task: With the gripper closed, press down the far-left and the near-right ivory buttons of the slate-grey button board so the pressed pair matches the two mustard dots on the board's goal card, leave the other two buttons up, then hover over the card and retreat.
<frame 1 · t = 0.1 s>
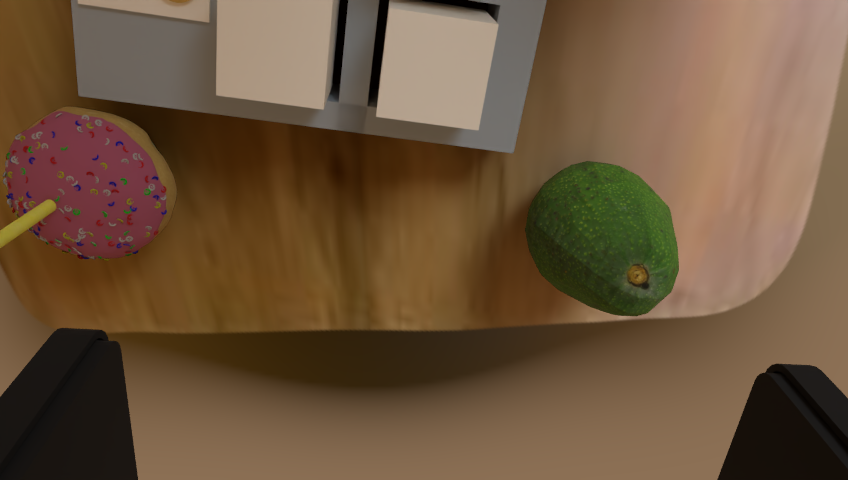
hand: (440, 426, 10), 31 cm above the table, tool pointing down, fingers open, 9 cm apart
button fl: (432, 61, 33), point 5 cm above the table, slide at 0.0 cm
avocado: (574, 198, 42), on the table
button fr: (281, 39, 32), point 5 cm above the table, slide at 0.0 cm
cupcake: (123, 157, 40), on the table
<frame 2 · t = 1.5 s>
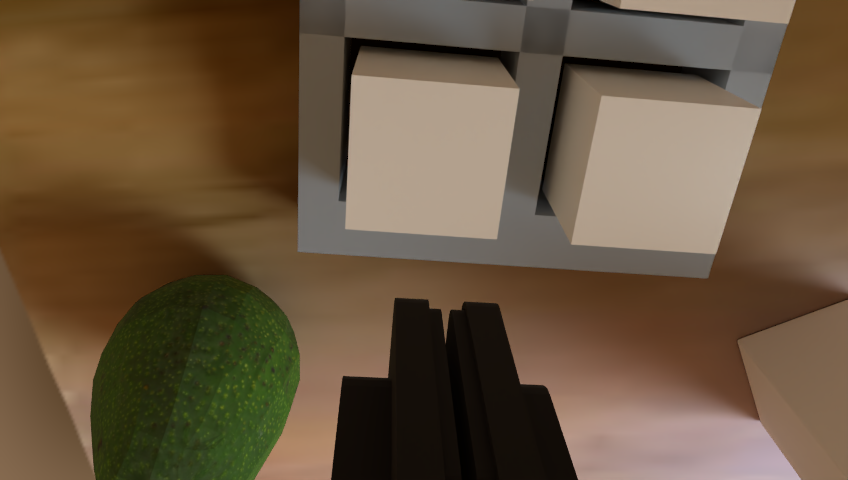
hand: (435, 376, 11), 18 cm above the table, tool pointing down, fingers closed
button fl: (425, 138, 23), point 5 cm above the table, slide at 0.0 cm
avocado: (230, 309, 32), on the table
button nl: (637, 154, 23), point 5 cm above the table, slide at 0.0 cm
milk: (803, 359, 34), on the table
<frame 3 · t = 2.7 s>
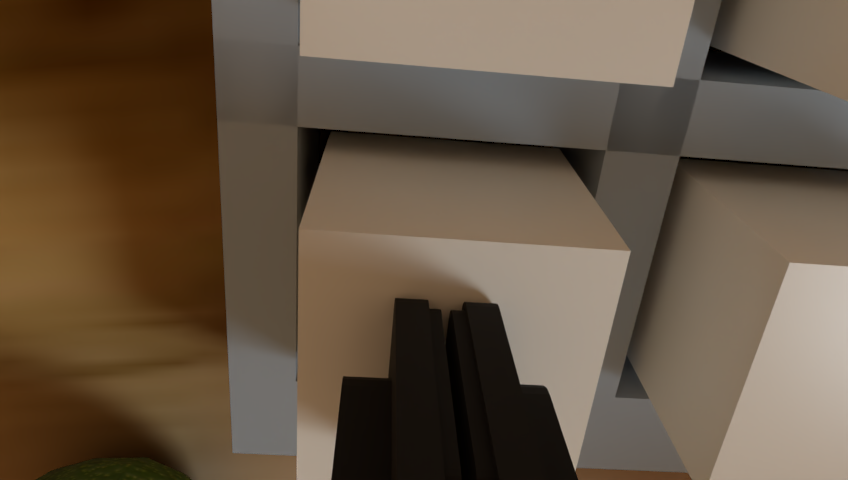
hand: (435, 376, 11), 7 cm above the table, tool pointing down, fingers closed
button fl: (441, 298, 13), point 5 cm above the table, slide at 0.0 cm, touching gripper
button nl: (801, 320, 14), point 5 cm above the table, slide at 0.0 cm
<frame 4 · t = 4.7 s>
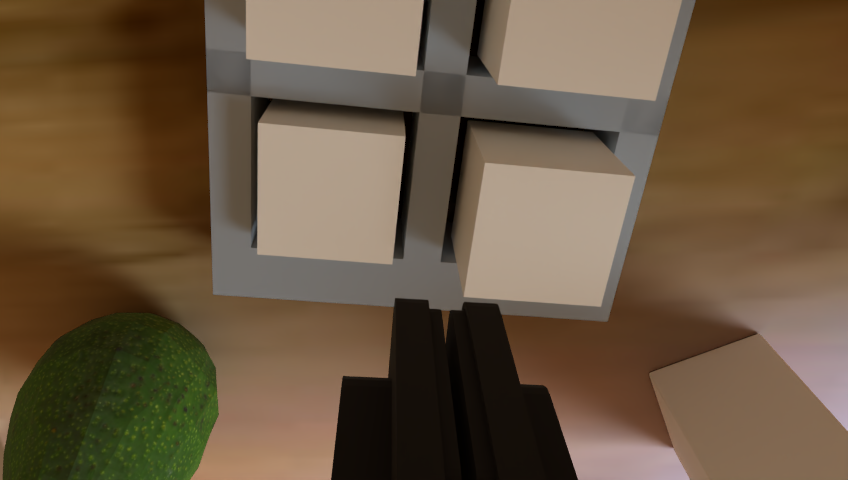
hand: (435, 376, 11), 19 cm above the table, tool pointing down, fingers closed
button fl: (333, 173, 26), point 3 cm above the table, slide at 2.0 cm
avocado: (158, 341, 33), on the table
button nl: (531, 209, 25), point 5 cm above the table, slide at 0.0 cm
milk: (712, 391, 36), on the table
board: (442, 7, 26), on the table
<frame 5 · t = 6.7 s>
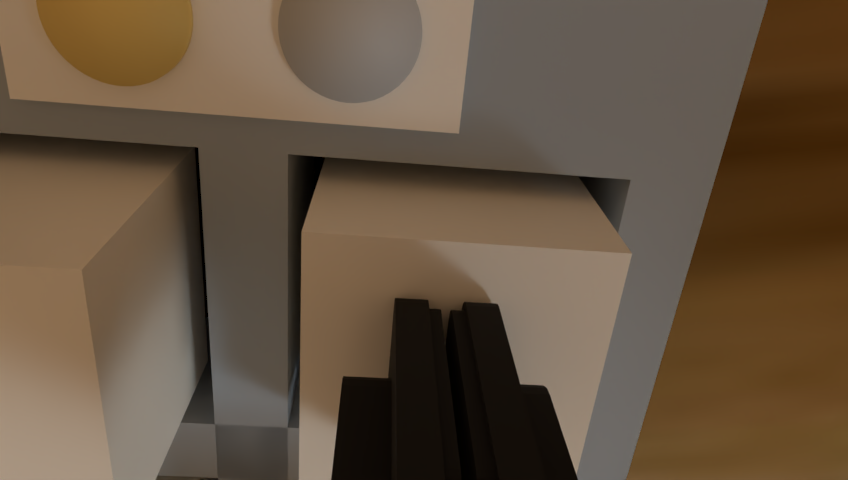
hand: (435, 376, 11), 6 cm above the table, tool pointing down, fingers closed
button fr: (14, 319, 11), point 5 cm above the table, slide at 0.0 cm
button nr: (443, 300, 13), point 3 cm above the table, slide at 1.5 cm, touching gripper
board: (282, 262, 17), on the table
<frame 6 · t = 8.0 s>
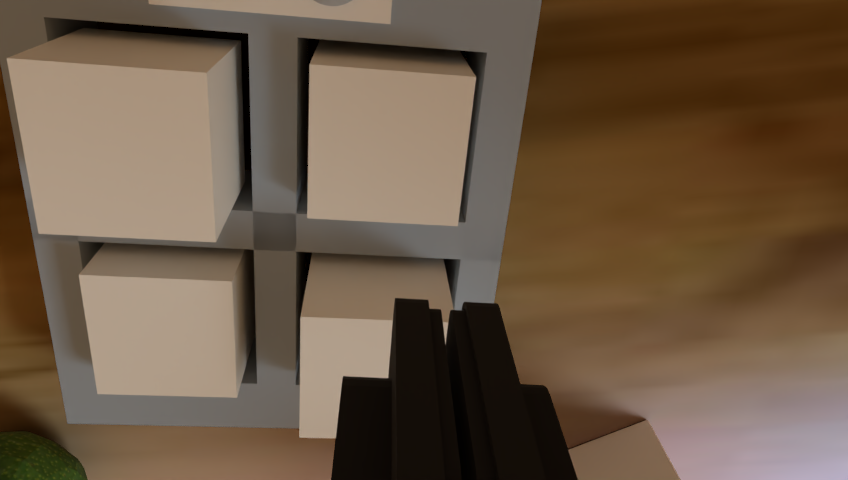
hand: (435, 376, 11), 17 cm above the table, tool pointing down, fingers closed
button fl: (180, 302, 26), point 3 cm above the table, slide at 2.0 cm
avocado: (39, 449, 32), on the table
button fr: (146, 130, 21), point 5 cm above the table, slide at 0.0 cm
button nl: (374, 339, 25), point 5 cm above the table, slide at 0.0 cm
milk: (608, 473, 36), on the table
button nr: (386, 127, 23), point 3 cm above the table, slide at 2.1 cm
board: (287, 130, 26), on the table
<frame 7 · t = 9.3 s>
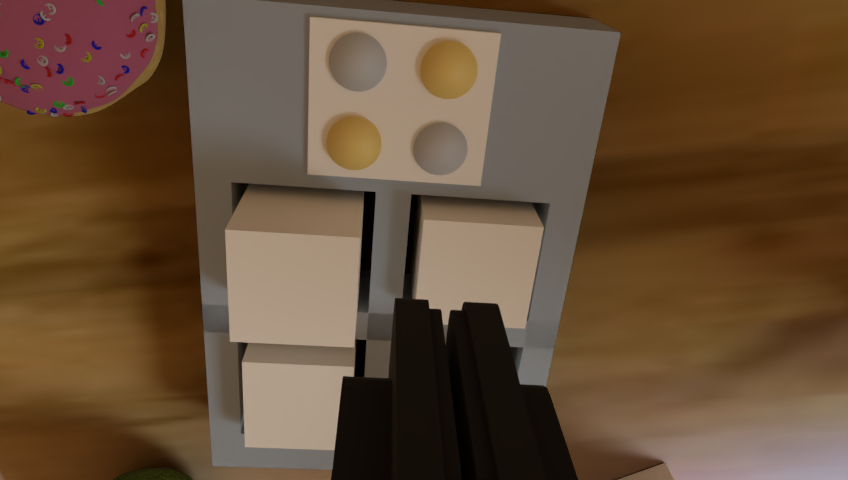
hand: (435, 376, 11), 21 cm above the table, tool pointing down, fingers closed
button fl: (304, 375, 33), point 3 cm above the table, slide at 2.0 cm
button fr: (300, 261, 28), point 5 cm above the table, slide at 0.0 cm
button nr: (470, 250, 30), point 3 cm above the table, slide at 2.1 cm
board: (387, 241, 33), on the table
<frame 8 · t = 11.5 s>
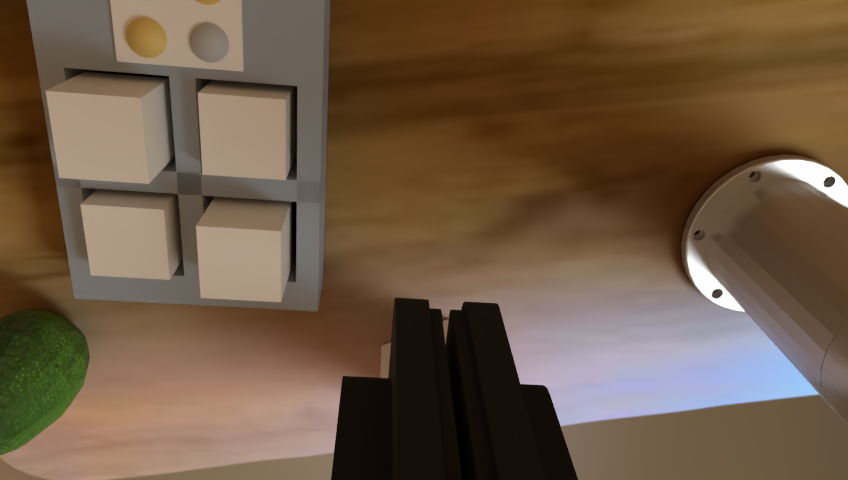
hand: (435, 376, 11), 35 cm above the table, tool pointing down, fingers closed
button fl: (139, 226, 44), point 3 cm above the table, slide at 2.0 cm
avocado: (57, 328, 51), on the table
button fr: (115, 126, 39), point 5 cm above the table, slide at 0.0 cm
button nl: (247, 247, 43), point 5 cm above the table, slide at 0.0 cm
milk: (429, 357, 54), on the table
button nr: (251, 126, 42), point 3 cm above the table, slide at 2.1 cm
board: (203, 127, 44), on the table
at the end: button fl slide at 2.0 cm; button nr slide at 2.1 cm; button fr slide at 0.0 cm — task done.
